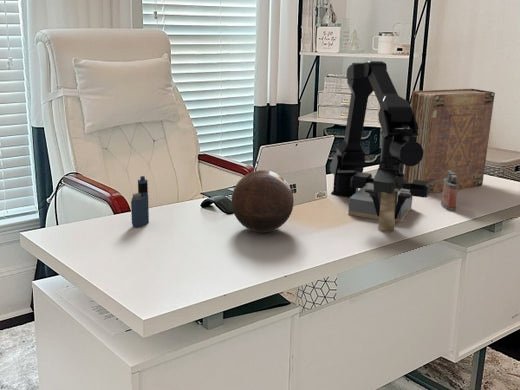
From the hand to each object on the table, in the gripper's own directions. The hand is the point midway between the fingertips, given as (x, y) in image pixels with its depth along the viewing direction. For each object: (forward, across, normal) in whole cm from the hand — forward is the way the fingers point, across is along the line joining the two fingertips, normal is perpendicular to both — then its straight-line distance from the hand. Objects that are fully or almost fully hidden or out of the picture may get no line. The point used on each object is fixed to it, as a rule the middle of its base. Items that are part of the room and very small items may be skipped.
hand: (387, 217), depth 153 cm
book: (+3, +6, +50) cm, 50 cm away
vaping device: (+3, -55, -27) cm, 61 cm away
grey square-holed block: (+3, -5, +14) cm, 15 cm away
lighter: (+3, +11, +28) cm, 30 cm away
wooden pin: (+3, 0, 0) cm, 3 cm away
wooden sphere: (+3, -27, -16) cm, 32 cm away
